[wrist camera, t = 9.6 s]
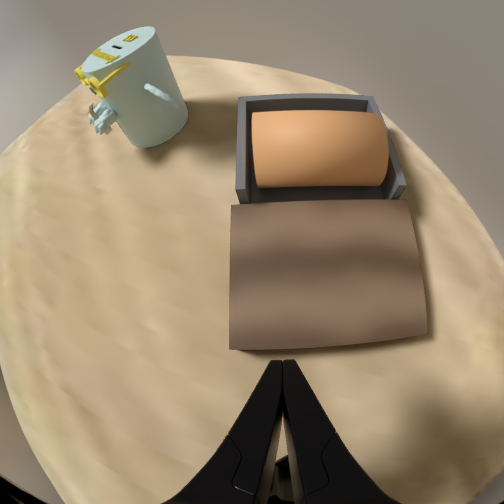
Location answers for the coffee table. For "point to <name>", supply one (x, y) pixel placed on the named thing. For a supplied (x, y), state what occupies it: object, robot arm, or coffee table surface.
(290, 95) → the tray
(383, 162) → the roller
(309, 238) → the board
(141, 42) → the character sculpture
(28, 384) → the coffee table surface
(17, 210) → the coffee table surface
